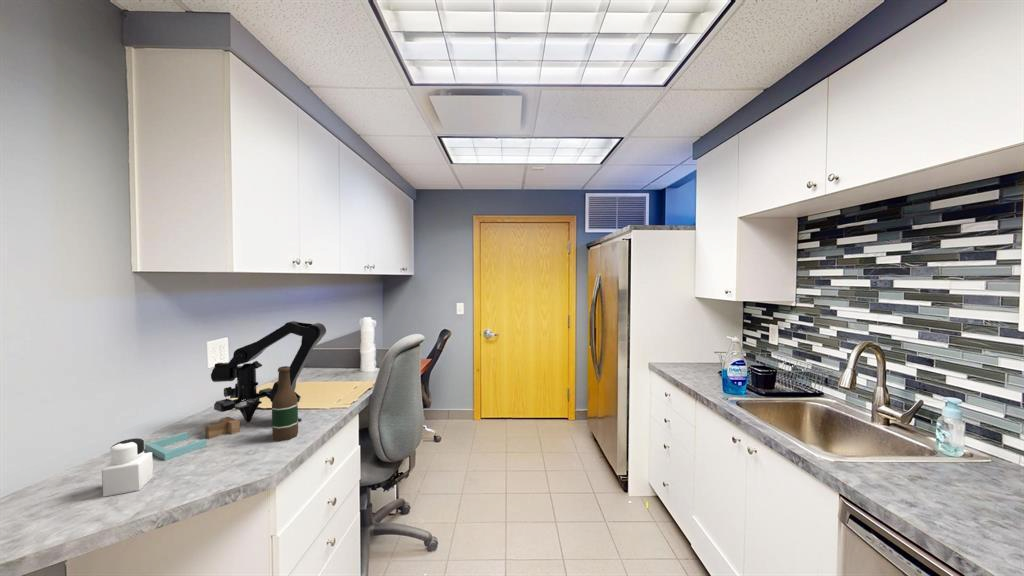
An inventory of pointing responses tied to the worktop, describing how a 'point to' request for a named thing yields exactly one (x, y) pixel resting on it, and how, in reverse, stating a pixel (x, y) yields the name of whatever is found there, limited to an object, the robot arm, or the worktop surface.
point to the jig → (168, 454)
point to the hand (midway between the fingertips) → (248, 422)
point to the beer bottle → (284, 408)
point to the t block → (222, 427)
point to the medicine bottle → (127, 468)
